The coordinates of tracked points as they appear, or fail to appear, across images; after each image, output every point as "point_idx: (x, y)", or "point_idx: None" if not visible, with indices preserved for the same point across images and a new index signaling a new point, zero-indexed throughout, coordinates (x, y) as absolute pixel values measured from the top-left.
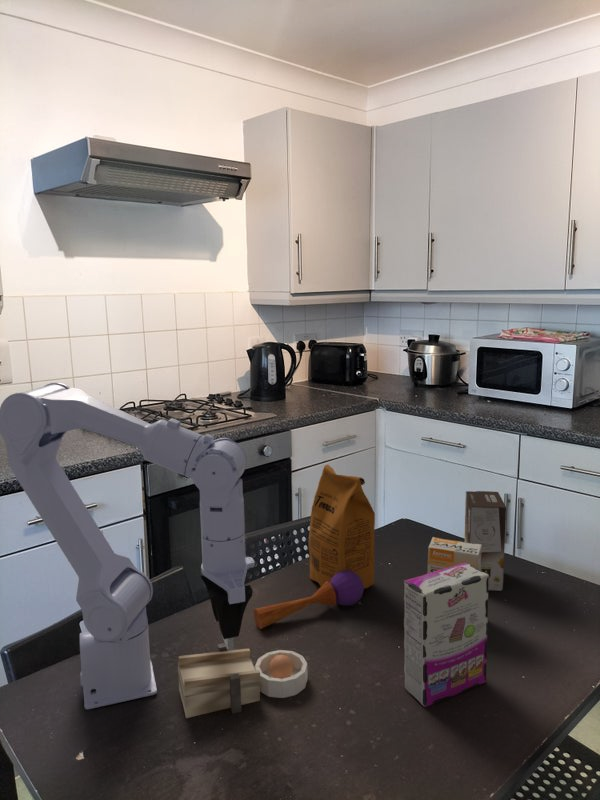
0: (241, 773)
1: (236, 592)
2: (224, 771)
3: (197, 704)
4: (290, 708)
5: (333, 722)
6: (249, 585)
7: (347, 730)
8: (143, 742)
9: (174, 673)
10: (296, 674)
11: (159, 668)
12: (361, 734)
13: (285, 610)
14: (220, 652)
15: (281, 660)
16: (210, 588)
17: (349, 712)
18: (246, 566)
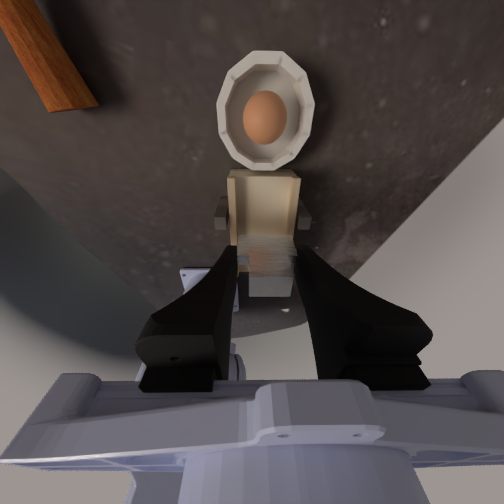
0: (381, 218)
1: None
2: (368, 231)
3: None
4: (328, 128)
5: (402, 60)
6: (378, 329)
7: (436, 38)
8: (293, 280)
9: (203, 250)
10: (305, 97)
11: (191, 261)
12: (466, 9)
13: (26, 7)
14: (232, 226)
15: (274, 121)
16: (229, 341)
17: (406, 2)
18: (396, 443)
